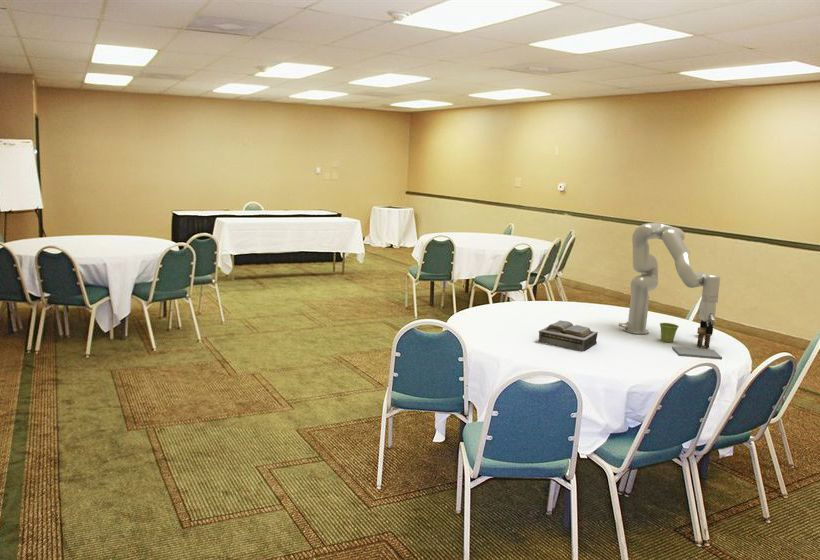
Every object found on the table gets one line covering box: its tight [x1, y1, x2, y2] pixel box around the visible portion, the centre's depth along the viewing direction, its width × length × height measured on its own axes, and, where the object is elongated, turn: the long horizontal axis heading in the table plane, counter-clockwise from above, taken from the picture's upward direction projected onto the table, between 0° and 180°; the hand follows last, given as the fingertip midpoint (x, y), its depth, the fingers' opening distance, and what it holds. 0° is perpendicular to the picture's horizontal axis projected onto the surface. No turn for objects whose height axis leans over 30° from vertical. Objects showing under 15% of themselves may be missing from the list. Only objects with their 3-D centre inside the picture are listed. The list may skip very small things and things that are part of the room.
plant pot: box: [659, 322, 680, 343], centre depth 345 cm, size 9×9×9 cm
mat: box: [671, 345, 723, 360], centre depth 324 cm, size 20×13×1 cm, turn 82°
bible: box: [538, 319, 599, 353], centre depth 331 cm, size 23×27×10 cm
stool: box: [696, 326, 713, 349], centre depth 336 cm, size 7×7×10 cm
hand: (705, 331), depth 335 cm, fingers open, 9 cm apart
